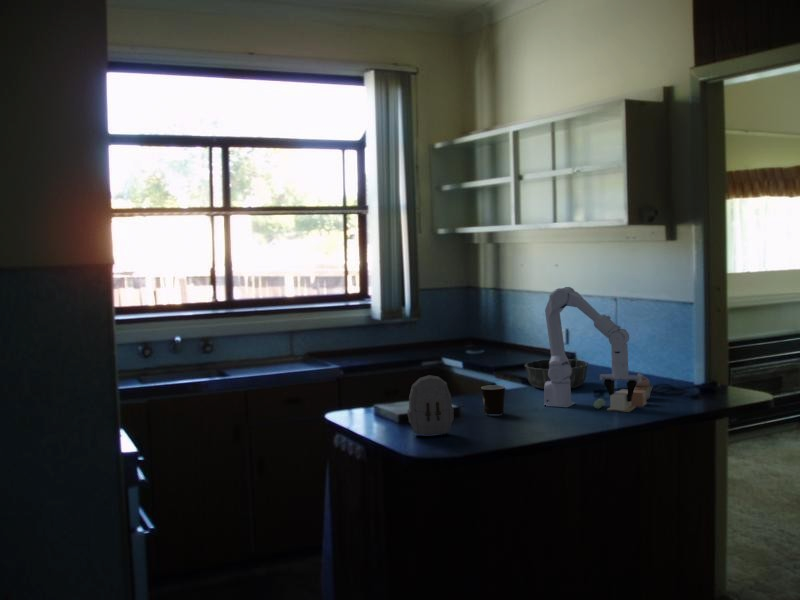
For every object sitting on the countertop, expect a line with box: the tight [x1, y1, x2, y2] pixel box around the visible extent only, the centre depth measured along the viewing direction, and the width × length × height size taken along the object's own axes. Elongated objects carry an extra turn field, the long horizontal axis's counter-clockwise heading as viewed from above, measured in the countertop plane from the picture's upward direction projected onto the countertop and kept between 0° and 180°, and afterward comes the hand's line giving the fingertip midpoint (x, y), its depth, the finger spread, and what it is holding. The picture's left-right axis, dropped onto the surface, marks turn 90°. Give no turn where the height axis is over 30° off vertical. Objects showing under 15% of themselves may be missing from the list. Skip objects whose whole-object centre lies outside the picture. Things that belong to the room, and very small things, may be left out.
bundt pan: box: [524, 358, 589, 390], centre depth 337 cm, size 26×26×10 cm
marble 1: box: [593, 399, 603, 410], centre depth 290 cm, size 3×3×3 cm
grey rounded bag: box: [407, 374, 455, 435], centre depth 259 cm, size 15×8×20 cm, turn 98°
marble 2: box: [597, 398, 606, 407], centre depth 293 cm, size 3×3×3 cm
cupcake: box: [634, 372, 654, 401], centre depth 303 cm, size 9×9×10 cm
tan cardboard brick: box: [619, 388, 647, 407], centre depth 294 cm, size 9×5×5 cm, turn 59°
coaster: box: [606, 406, 637, 413], centre depth 287 cm, size 8×8×1 cm
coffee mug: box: [480, 384, 506, 414], centre depth 289 cm, size 12×9×10 cm
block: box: [609, 390, 632, 410], centre depth 287 cm, size 9×5×5 cm, turn 148°
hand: (621, 400), depth 287 cm, fingers open, 6 cm apart
